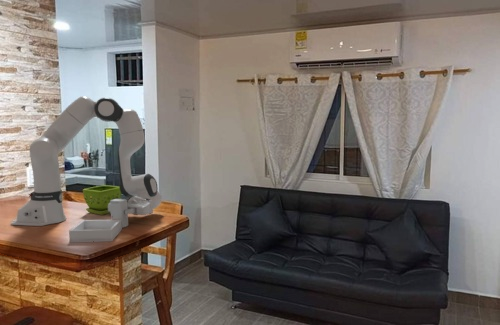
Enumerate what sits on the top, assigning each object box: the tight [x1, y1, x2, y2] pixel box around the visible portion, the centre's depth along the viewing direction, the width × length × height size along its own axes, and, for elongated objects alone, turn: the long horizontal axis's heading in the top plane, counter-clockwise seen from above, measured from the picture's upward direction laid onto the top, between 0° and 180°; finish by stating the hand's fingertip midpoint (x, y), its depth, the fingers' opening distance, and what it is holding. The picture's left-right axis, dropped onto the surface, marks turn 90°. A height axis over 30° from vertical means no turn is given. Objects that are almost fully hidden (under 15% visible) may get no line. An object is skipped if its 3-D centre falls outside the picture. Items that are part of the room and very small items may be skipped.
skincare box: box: [110, 198, 129, 229], centre depth 176 cm, size 6×4×12 cm
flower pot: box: [82, 184, 122, 216], centre depth 202 cm, size 14×14×13 cm
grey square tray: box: [68, 219, 123, 243], centre depth 163 cm, size 16×16×4 cm
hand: (117, 211), depth 175 cm, fingers closed on skincare box, 6 cm apart
